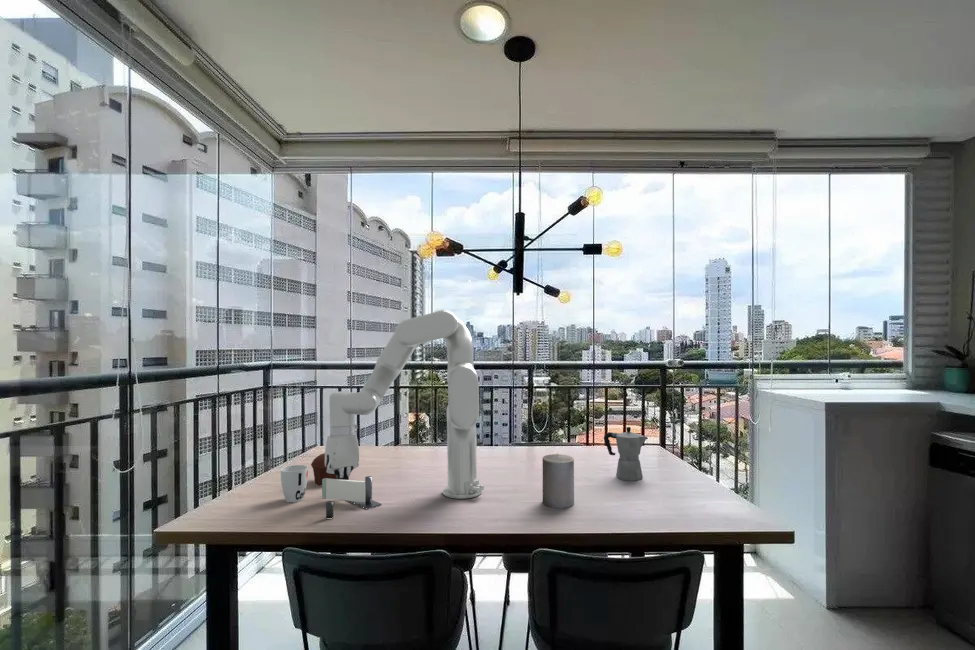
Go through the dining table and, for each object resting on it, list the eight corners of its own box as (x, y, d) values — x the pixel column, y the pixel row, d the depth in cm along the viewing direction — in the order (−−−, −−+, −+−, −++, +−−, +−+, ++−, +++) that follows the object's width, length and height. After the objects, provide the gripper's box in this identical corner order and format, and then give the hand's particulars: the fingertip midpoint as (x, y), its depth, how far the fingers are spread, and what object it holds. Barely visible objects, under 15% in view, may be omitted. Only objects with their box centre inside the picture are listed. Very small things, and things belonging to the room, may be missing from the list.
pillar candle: (537, 500, 152) (536, 451, 152) (564, 495, 156) (564, 448, 156) (552, 510, 143) (551, 459, 143) (581, 506, 147) (580, 455, 147)
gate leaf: (366, 500, 150) (365, 481, 150) (363, 502, 149) (363, 482, 149) (324, 497, 154) (324, 478, 154) (322, 498, 153) (322, 479, 153)
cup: (298, 505, 150) (298, 472, 150) (274, 503, 152) (275, 471, 152) (313, 496, 158) (313, 465, 158) (290, 495, 160) (290, 464, 160)
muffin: (304, 485, 170) (304, 456, 170) (322, 476, 181) (322, 449, 181) (334, 487, 167) (334, 458, 168) (351, 478, 178) (351, 451, 178)
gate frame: (381, 505, 149) (381, 477, 149) (329, 520, 137) (329, 490, 137) (343, 490, 164) (343, 464, 164) (294, 503, 152) (294, 475, 152)
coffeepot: (649, 475, 178) (648, 425, 178) (647, 482, 169) (646, 430, 169) (606, 471, 184) (605, 423, 184) (602, 478, 175) (601, 427, 175)
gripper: (356, 426, 163) (357, 481, 163) (314, 433, 153) (315, 492, 152) (369, 428, 158) (370, 485, 158) (326, 436, 147) (327, 497, 147)
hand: (343, 488), depth 155 cm, fingers closed
